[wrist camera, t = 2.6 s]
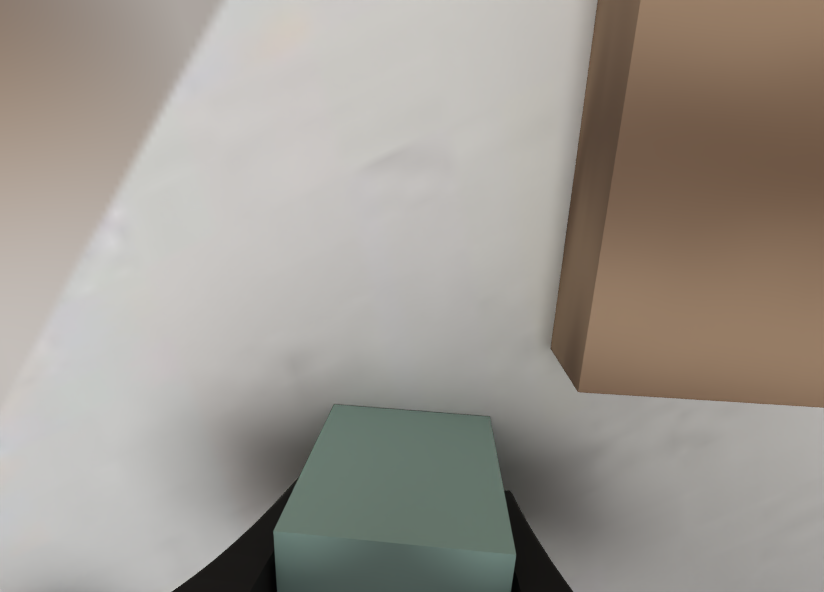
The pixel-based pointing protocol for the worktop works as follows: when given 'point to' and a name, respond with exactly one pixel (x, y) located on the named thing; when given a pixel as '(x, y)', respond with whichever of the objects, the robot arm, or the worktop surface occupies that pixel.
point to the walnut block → (699, 205)
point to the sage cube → (397, 507)
